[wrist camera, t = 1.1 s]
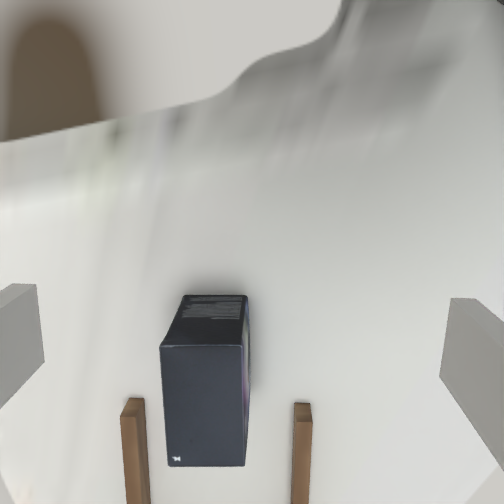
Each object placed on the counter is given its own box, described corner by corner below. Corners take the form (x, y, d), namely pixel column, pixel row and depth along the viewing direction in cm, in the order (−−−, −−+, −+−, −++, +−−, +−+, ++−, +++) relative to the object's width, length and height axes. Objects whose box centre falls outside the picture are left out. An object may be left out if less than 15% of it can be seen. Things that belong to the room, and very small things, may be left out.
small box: (253, 394, 45) (248, 471, 35) (187, 393, 46) (164, 470, 36) (251, 293, 43) (245, 346, 32) (181, 293, 43) (154, 346, 33)
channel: (309, 403, 45) (314, 436, 40) (303, 543, 50) (306, 588, 45) (129, 398, 46) (112, 430, 41) (139, 537, 51) (125, 580, 46)
